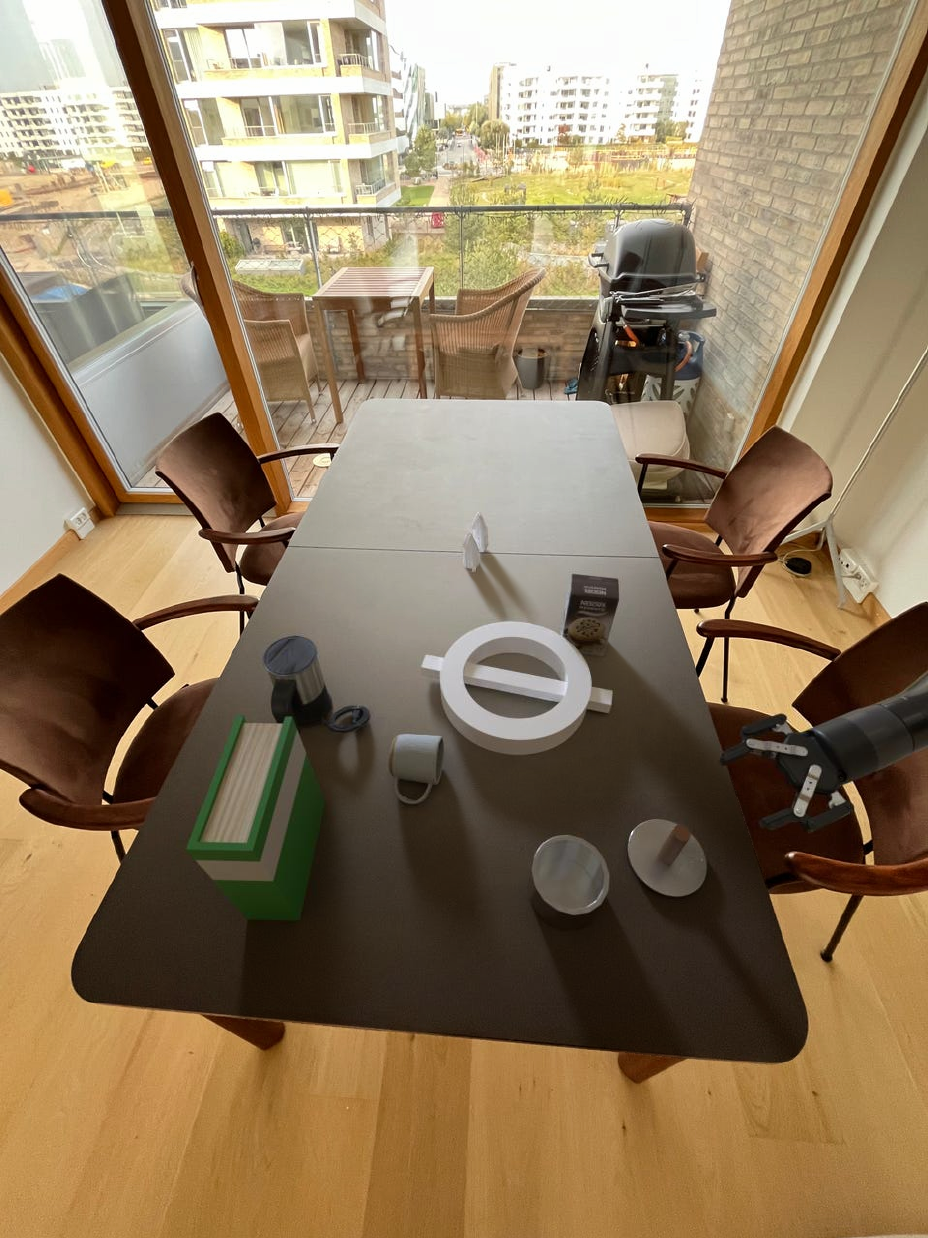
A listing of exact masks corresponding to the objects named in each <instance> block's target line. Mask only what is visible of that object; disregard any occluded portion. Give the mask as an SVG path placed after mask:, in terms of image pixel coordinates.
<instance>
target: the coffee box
mask: <svg viewBox="0 0 928 1238" xmlns="http://www.w3.org/2000/svg"><path fill="white" fill-rule="evenodd" d="M619 582H620V581H619V579H618V578H616V577H606V576H597V575H589V574H588V575H587V574H578V573H571V575H570V581H569V585H568V591H567V596H566V601H565V605H564V611H563V616H562V621H561V627H560V630H559V631H560V633H559V635H561V636H562V637H564V638H565V639H567V640H568V641H569V642H570V643H571V644H573V645H574V646H575V647H576V648H577V650H578V651H579V652H580V653H581V655H585V656H593V657H601V658H603V657H605V656H604V655H605V652H606V647H607V645H608V641H609V638H610V634H611V631H612V626H613V624H614V619H615V616H616V613H617V609H618V605H619V602H620V589H619V588H620V586H619V585H620V584H619Z"/></svg>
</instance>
